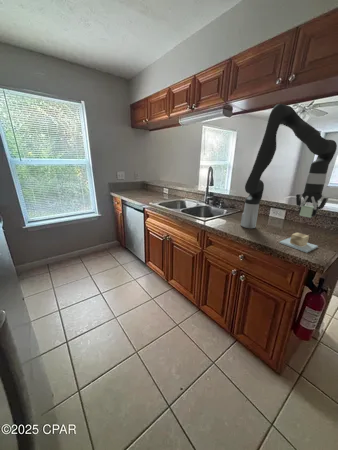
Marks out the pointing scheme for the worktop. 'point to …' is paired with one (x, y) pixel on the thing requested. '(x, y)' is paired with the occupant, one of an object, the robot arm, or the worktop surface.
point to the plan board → (304, 248)
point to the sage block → (306, 211)
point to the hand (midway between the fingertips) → (306, 214)
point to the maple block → (299, 239)
